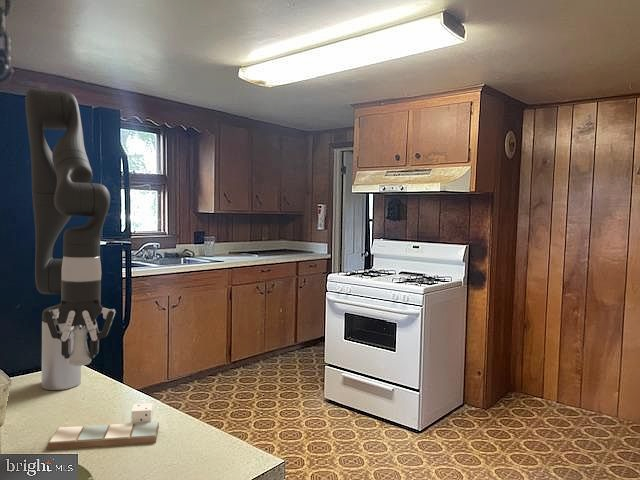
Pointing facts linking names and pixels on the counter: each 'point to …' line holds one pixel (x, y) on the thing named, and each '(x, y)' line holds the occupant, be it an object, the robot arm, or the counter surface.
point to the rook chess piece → (80, 347)
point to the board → (104, 435)
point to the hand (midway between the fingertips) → (80, 356)
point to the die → (142, 413)
